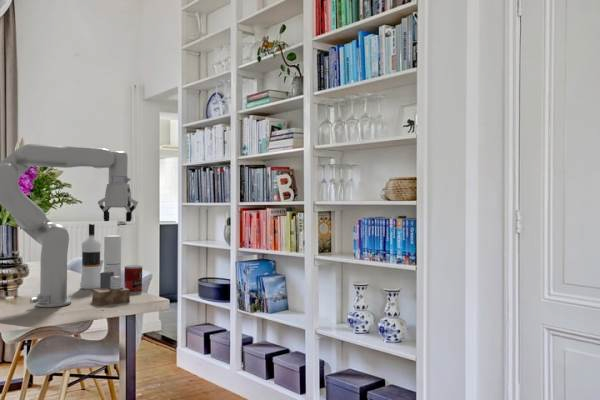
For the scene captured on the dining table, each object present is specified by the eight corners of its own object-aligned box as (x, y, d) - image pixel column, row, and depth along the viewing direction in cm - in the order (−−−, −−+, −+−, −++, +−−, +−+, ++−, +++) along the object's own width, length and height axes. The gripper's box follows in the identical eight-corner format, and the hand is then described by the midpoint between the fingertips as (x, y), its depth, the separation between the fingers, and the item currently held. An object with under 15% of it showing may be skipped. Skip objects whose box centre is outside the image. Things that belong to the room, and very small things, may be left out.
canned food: (135, 292, 238) (135, 267, 238) (120, 290, 241) (120, 266, 241) (145, 289, 245) (145, 265, 245) (131, 288, 248) (131, 264, 248)
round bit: (115, 302, 214) (116, 277, 214) (108, 301, 215) (108, 277, 215) (122, 300, 217) (123, 276, 217) (114, 299, 219) (115, 275, 219)
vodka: (79, 290, 241) (80, 224, 241) (80, 286, 249) (81, 223, 249) (101, 289, 244) (102, 224, 244) (101, 286, 253) (102, 223, 253)
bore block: (99, 305, 208) (99, 292, 208) (92, 301, 215) (92, 289, 215) (129, 301, 215) (129, 289, 215) (121, 298, 222) (121, 286, 222)
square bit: (109, 296, 226) (109, 273, 226) (100, 296, 226) (100, 272, 226) (113, 294, 230) (113, 271, 230) (104, 294, 230) (104, 271, 230)
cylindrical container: (115, 293, 234) (115, 236, 234) (100, 292, 236) (101, 236, 236) (123, 290, 241) (124, 235, 241) (109, 289, 243) (109, 235, 243)
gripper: (141, 181, 226) (140, 221, 226) (102, 181, 228) (102, 220, 228) (133, 180, 219) (133, 222, 219) (94, 180, 221) (93, 221, 221)
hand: (117, 221), depth 224 cm, fingers open, 9 cm apart
